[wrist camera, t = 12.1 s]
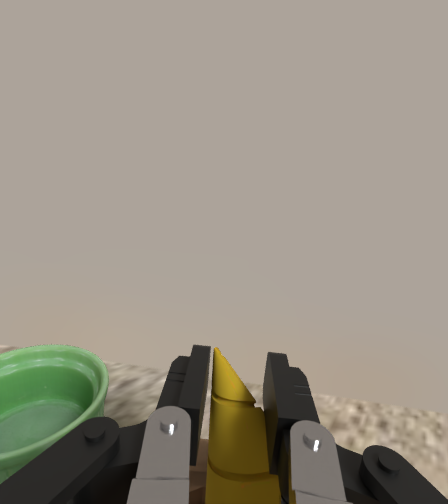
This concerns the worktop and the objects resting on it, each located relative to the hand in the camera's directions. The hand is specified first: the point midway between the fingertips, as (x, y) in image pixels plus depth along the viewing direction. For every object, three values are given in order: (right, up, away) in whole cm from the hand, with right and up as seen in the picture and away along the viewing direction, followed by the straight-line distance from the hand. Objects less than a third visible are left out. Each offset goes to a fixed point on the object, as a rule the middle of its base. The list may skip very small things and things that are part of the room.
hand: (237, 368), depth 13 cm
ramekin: (-12, -7, +6) cm, 15 cm away
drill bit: (-1, -7, -1) cm, 7 cm away
